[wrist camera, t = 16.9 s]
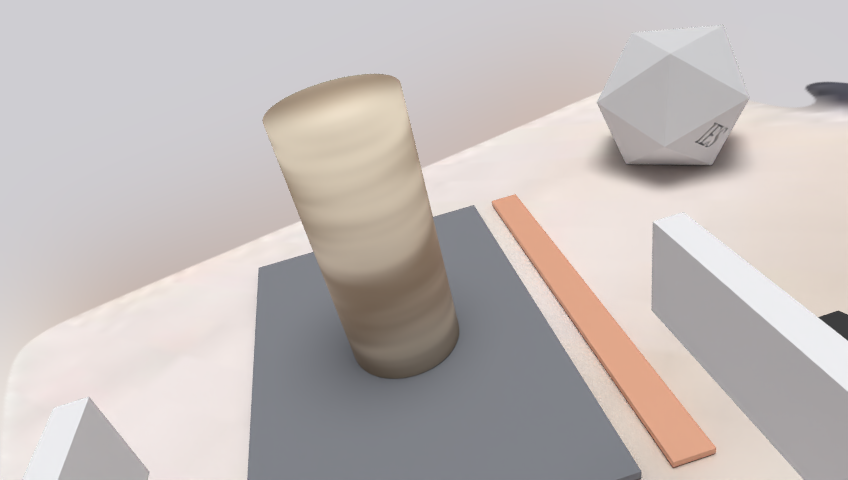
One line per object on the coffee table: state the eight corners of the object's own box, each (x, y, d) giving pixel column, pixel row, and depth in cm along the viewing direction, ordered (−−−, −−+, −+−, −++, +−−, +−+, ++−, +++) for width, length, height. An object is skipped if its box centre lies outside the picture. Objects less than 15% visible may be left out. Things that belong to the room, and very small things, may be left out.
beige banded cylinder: (472, 356, 25) (413, 101, 19) (360, 393, 25) (261, 146, 18) (444, 289, 30) (388, 64, 23) (348, 319, 29) (264, 99, 23)
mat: (641, 478, 20) (641, 471, 19) (245, 611, 19) (240, 605, 18) (474, 210, 36) (473, 205, 36) (261, 272, 35) (258, 267, 35)
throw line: (715, 453, 20) (716, 447, 20) (673, 467, 20) (673, 462, 20) (516, 198, 37) (515, 194, 36) (492, 205, 36) (491, 201, 36)
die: (681, 213, 33) (802, 59, 29) (556, 135, 35) (652, -20, 31) (687, 189, 40) (785, 63, 36) (582, 125, 42) (663, -2, 38)
